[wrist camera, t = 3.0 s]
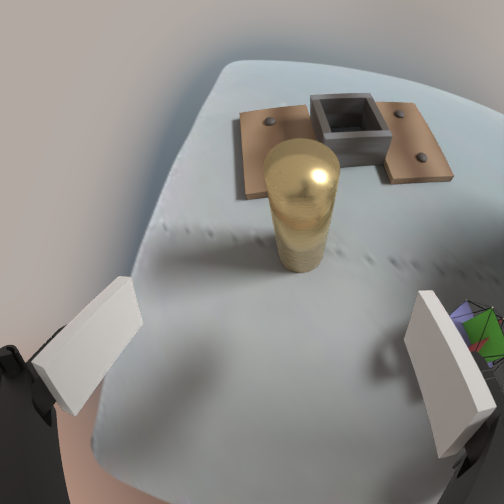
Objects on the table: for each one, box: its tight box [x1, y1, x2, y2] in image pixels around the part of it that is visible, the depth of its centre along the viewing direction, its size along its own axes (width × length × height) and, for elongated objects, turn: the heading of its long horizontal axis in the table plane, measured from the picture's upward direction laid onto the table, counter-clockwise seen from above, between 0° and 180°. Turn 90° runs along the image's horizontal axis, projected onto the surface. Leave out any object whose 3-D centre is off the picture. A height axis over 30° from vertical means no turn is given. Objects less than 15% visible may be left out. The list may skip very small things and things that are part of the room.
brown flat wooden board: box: [240, 93, 454, 200], centre depth 27 cm, size 23×12×4 cm, turn 94°
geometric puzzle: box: [449, 299, 504, 369], centre depth 17 cm, size 7×7×8 cm
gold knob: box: [263, 138, 340, 273], centre depth 20 cm, size 4×4×12 cm
